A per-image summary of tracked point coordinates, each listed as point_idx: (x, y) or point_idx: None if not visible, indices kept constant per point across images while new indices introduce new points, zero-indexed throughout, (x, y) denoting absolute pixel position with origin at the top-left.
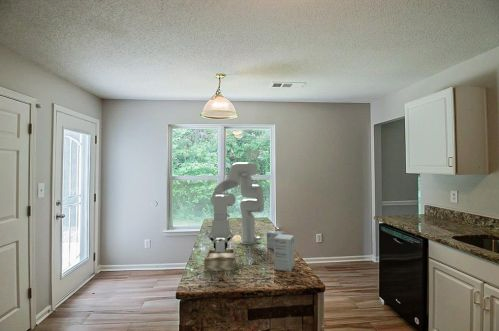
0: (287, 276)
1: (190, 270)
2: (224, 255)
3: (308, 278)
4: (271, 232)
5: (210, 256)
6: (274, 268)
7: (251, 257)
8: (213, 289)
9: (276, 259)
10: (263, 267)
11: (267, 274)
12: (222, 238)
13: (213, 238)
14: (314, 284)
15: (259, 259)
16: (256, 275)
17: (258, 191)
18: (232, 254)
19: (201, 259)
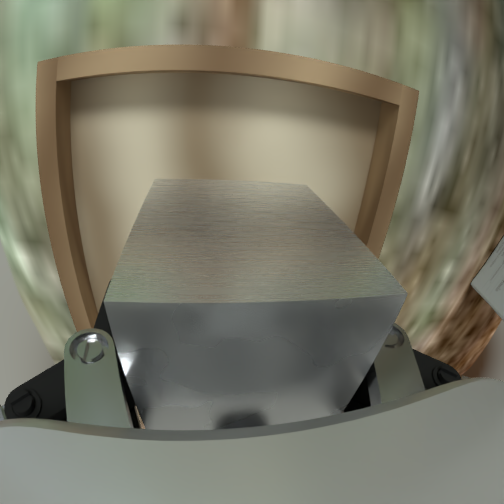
0: (458, 339)
1: (23, 276)
2: None
3: (481, 342)
4: None
5: (101, 227)
6: (472, 285)
7: (460, 74)
8: None
9: (498, 314)
10: (452, 262)
11: (423, 332)
12: (312, 354)
13: (64, 411)
14: (465, 368)
15: (484, 133)
16: None
17: None
18: (356, 183)
19: (36, 40)
